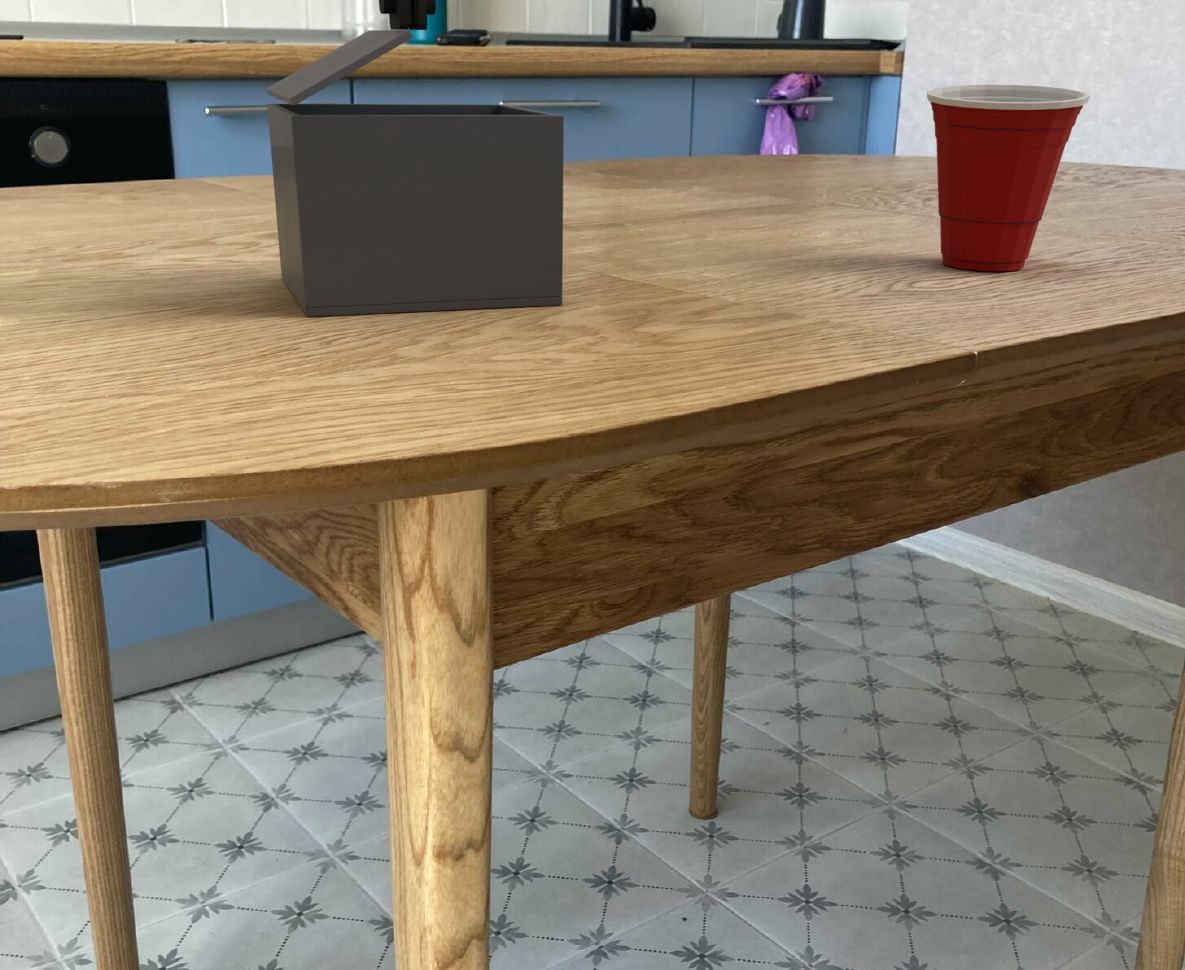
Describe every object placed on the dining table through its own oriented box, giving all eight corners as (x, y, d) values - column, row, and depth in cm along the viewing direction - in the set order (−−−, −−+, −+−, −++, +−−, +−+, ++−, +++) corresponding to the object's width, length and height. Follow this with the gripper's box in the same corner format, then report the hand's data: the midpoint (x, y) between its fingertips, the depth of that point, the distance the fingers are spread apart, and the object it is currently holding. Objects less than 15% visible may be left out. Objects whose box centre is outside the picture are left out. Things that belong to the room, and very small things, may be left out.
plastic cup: (894, 271, 88) (915, 86, 83) (917, 250, 97) (937, 82, 92) (1056, 283, 85) (1088, 91, 80) (1064, 261, 94) (1093, 87, 89)
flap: (293, 105, 66) (289, 98, 66) (269, 95, 77) (265, 89, 77) (414, 37, 66) (410, 29, 66) (372, 36, 77) (369, 30, 77)
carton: (306, 316, 70) (291, 115, 66) (281, 277, 81) (267, 103, 77) (562, 305, 75) (564, 115, 70) (505, 269, 86) (503, 104, 81)
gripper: (247, -405, 59) (282, 27, 66) (552, -369, 63) (552, 31, 71) (235, -361, 65) (268, 27, 73) (512, -332, 70) (516, 31, 77)
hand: (408, 28), depth 72 cm, fingers closed
